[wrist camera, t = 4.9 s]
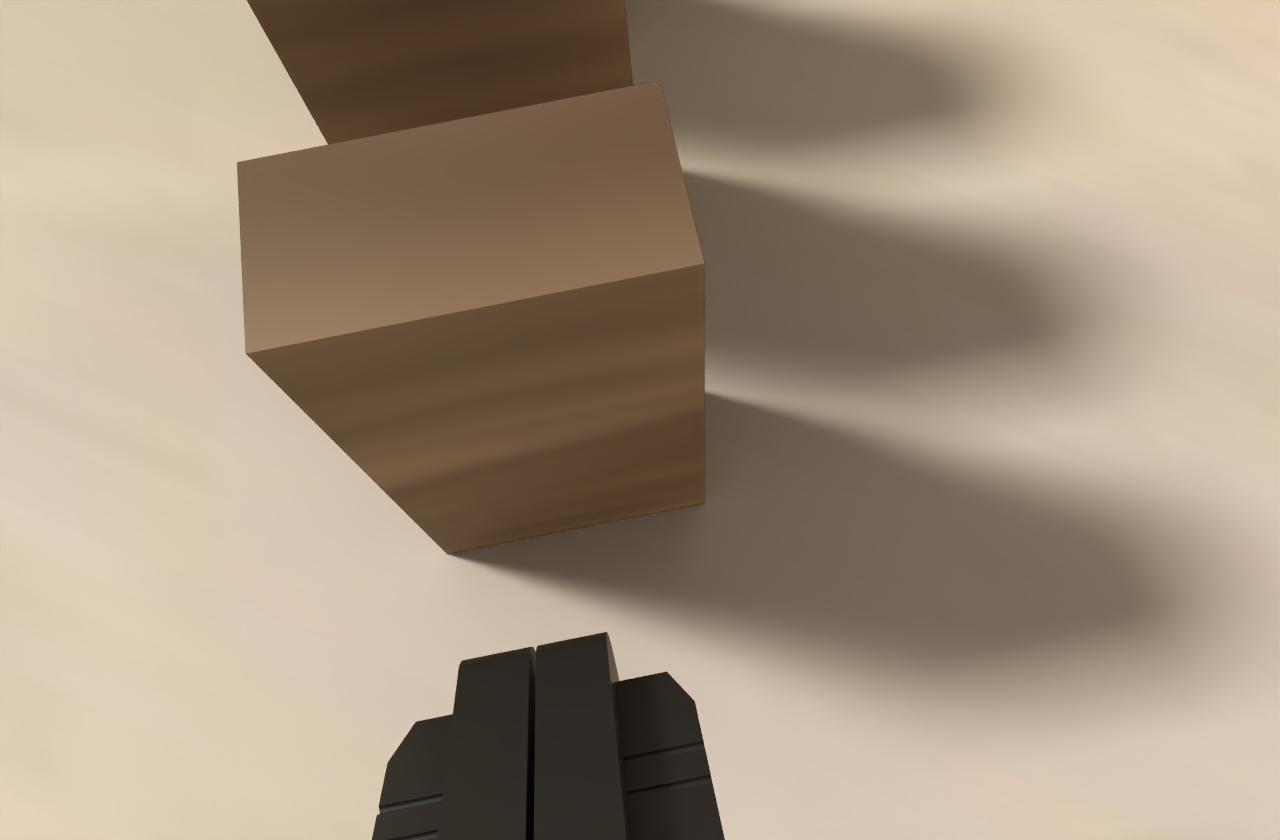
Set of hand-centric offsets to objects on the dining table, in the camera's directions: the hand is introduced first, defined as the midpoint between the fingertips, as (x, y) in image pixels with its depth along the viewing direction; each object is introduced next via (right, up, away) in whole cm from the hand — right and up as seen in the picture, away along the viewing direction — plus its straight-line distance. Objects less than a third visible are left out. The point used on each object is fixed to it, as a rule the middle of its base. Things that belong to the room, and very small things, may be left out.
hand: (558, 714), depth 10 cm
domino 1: (-1, +2, +9) cm, 10 cm away
